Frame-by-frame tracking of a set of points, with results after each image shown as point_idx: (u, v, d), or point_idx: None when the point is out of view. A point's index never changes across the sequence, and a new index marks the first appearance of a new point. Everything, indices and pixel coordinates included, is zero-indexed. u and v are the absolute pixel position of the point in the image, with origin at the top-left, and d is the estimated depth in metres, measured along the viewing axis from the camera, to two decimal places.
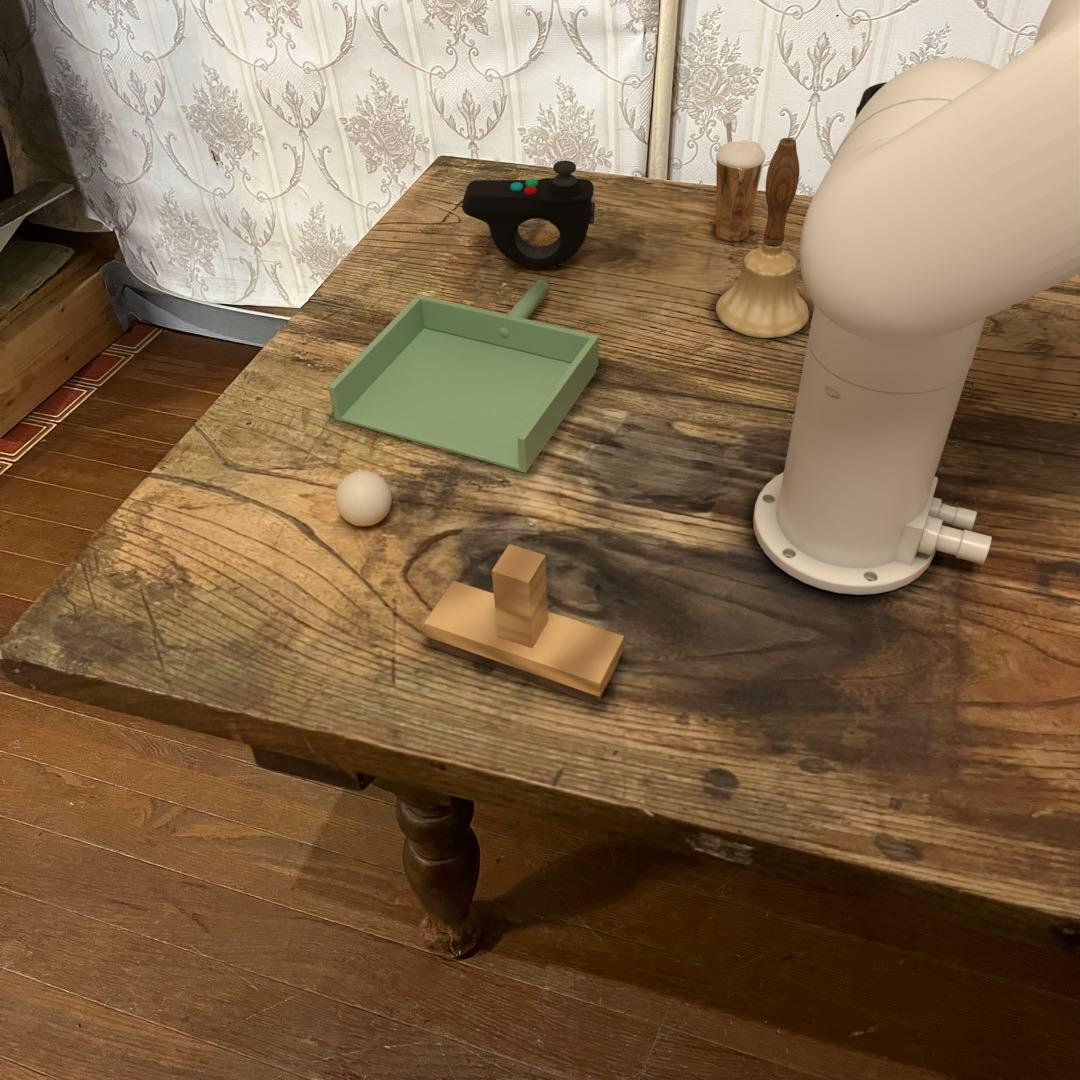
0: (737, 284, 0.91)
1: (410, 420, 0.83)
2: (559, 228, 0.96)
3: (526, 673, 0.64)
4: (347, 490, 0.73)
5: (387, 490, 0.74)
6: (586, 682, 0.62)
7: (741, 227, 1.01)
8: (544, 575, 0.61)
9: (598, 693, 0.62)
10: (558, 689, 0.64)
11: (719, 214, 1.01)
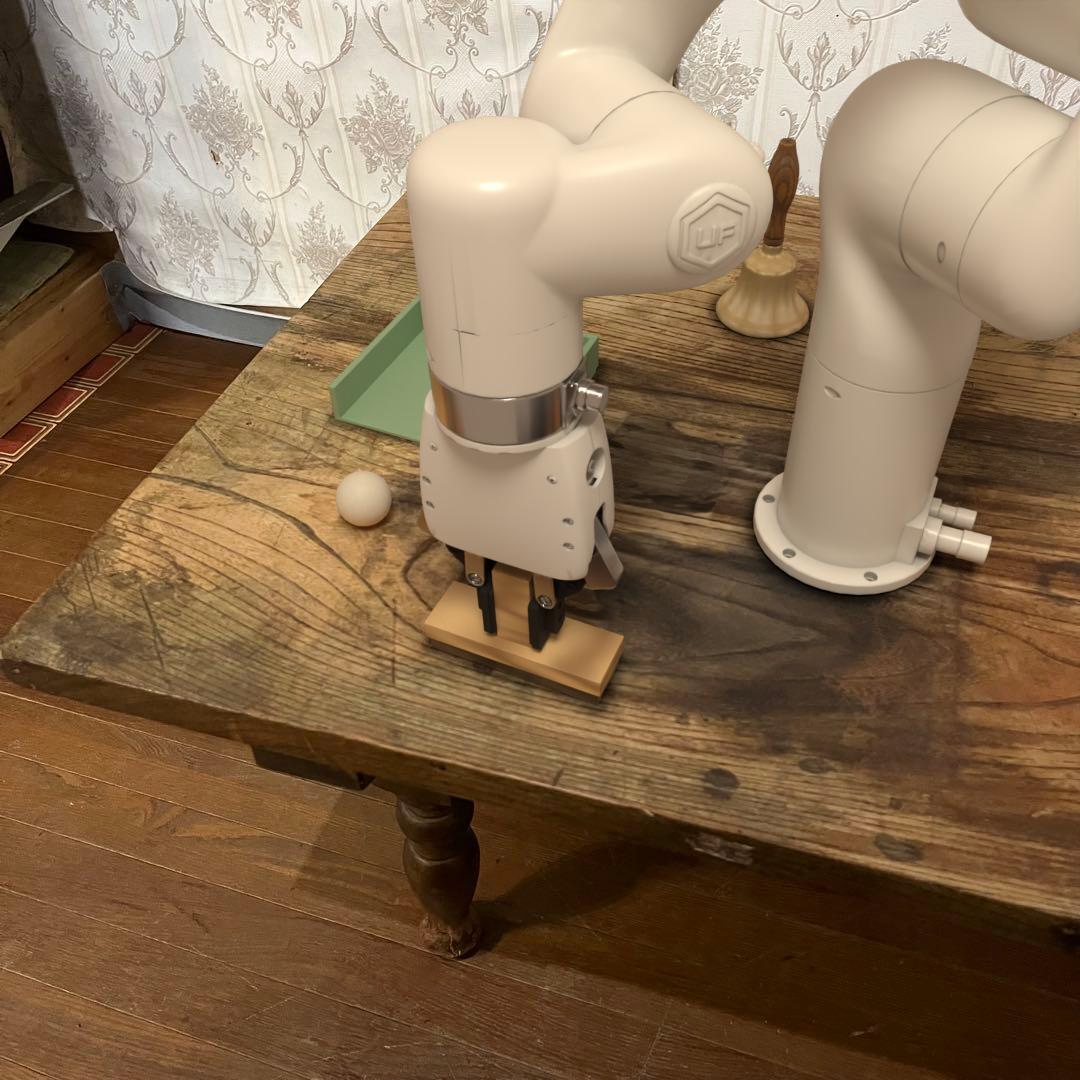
0: (737, 284, 0.91)
1: (410, 420, 0.83)
2: None
3: (526, 673, 0.64)
4: (347, 490, 0.73)
5: (387, 490, 0.74)
6: (586, 682, 0.62)
7: None
8: None
9: (598, 693, 0.62)
10: (558, 689, 0.64)
11: None
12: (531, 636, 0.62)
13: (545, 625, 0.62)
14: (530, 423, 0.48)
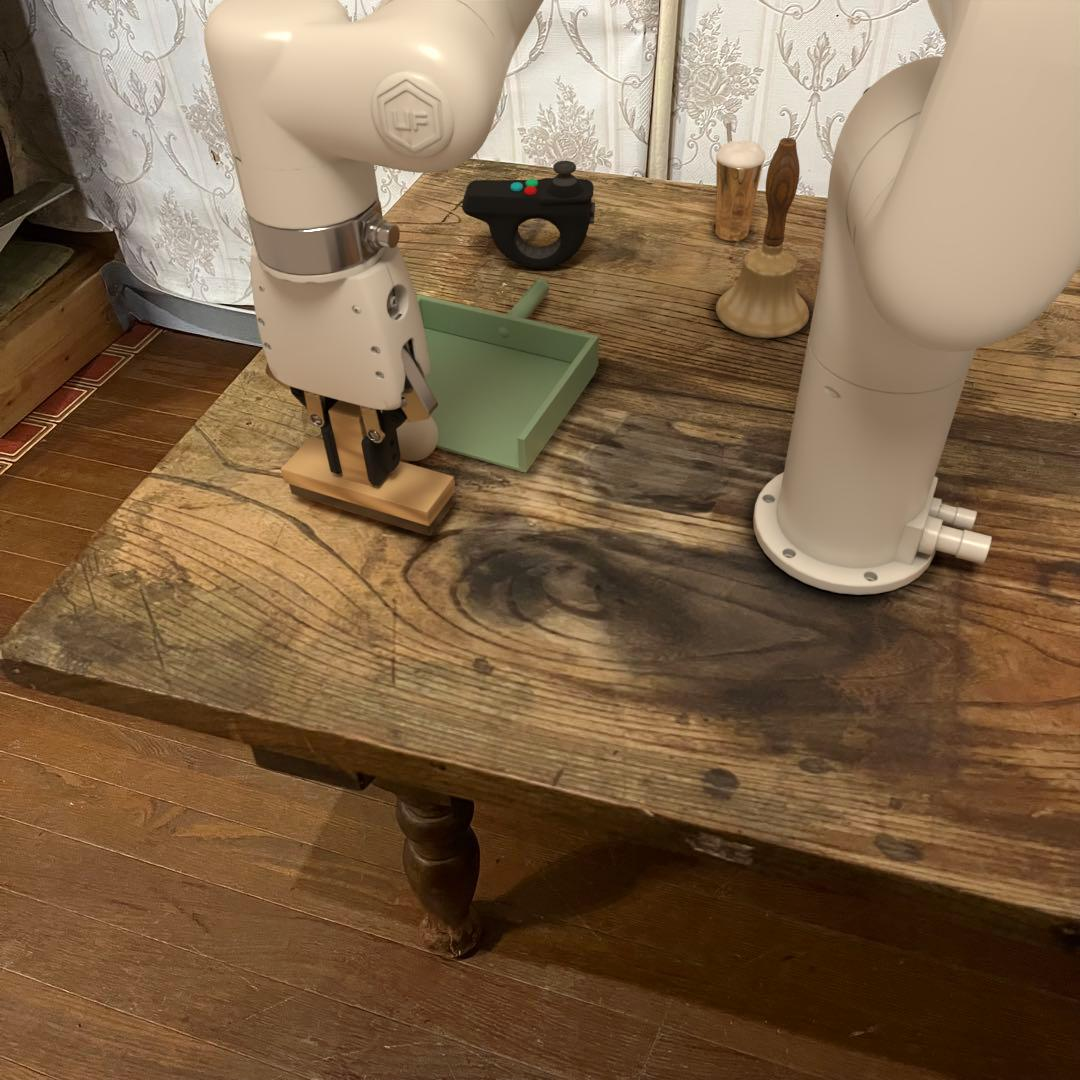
0: (737, 284, 0.91)
1: None
2: (559, 228, 0.96)
3: (369, 510, 0.73)
4: None
5: (426, 452, 0.78)
6: (416, 512, 0.71)
7: (741, 227, 1.01)
8: None
9: (427, 522, 0.71)
10: (396, 523, 0.73)
11: (719, 214, 1.01)
12: (368, 472, 0.71)
13: (380, 462, 0.71)
14: (328, 254, 0.57)
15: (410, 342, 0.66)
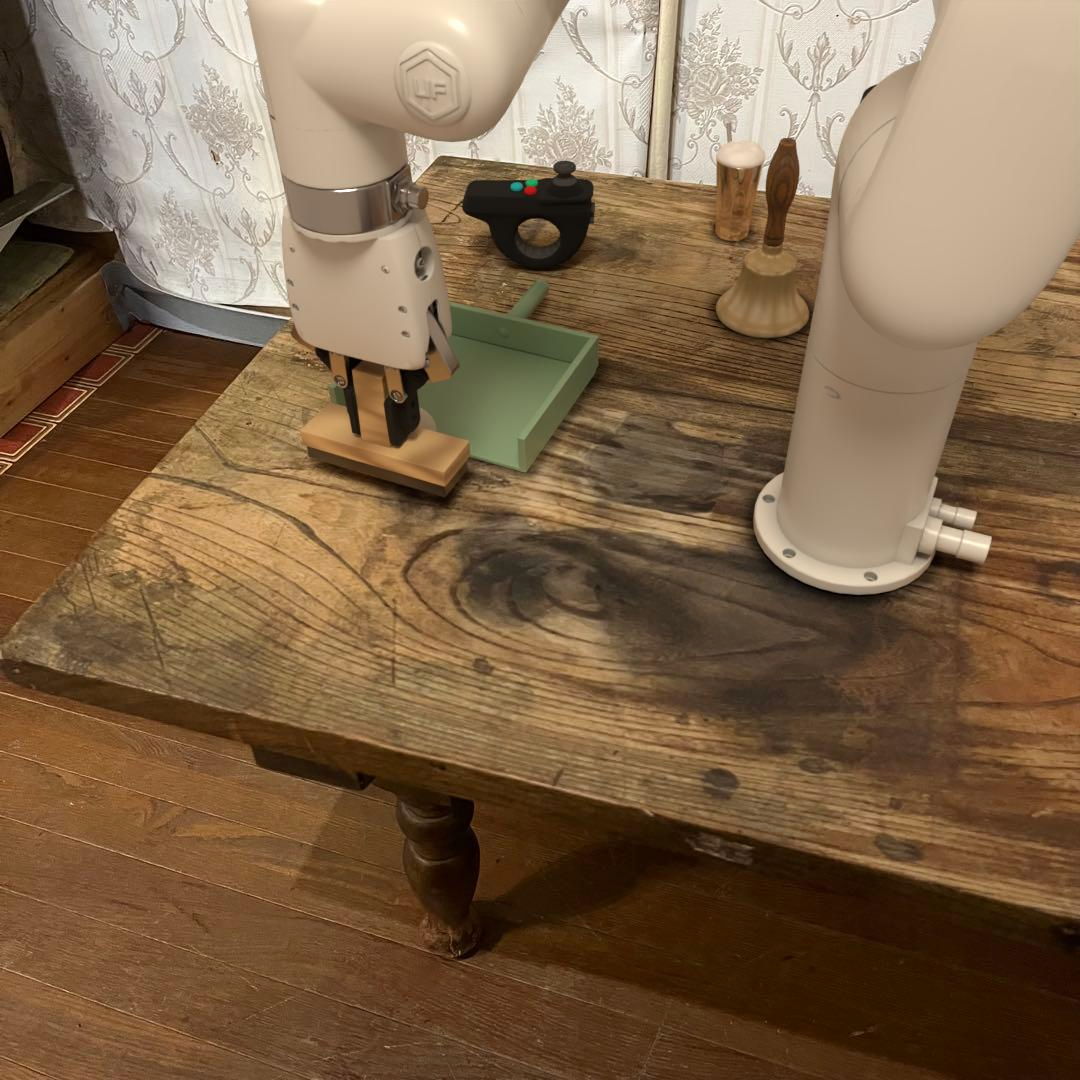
0: (737, 284, 0.91)
1: None
2: (559, 228, 0.96)
3: (386, 472, 0.75)
4: None
5: None
6: (433, 472, 0.73)
7: (741, 227, 1.01)
8: None
9: (443, 483, 0.73)
10: (412, 485, 0.75)
11: (719, 214, 1.01)
12: (389, 432, 0.73)
13: (401, 423, 0.73)
14: (361, 214, 0.60)
15: (433, 304, 0.68)
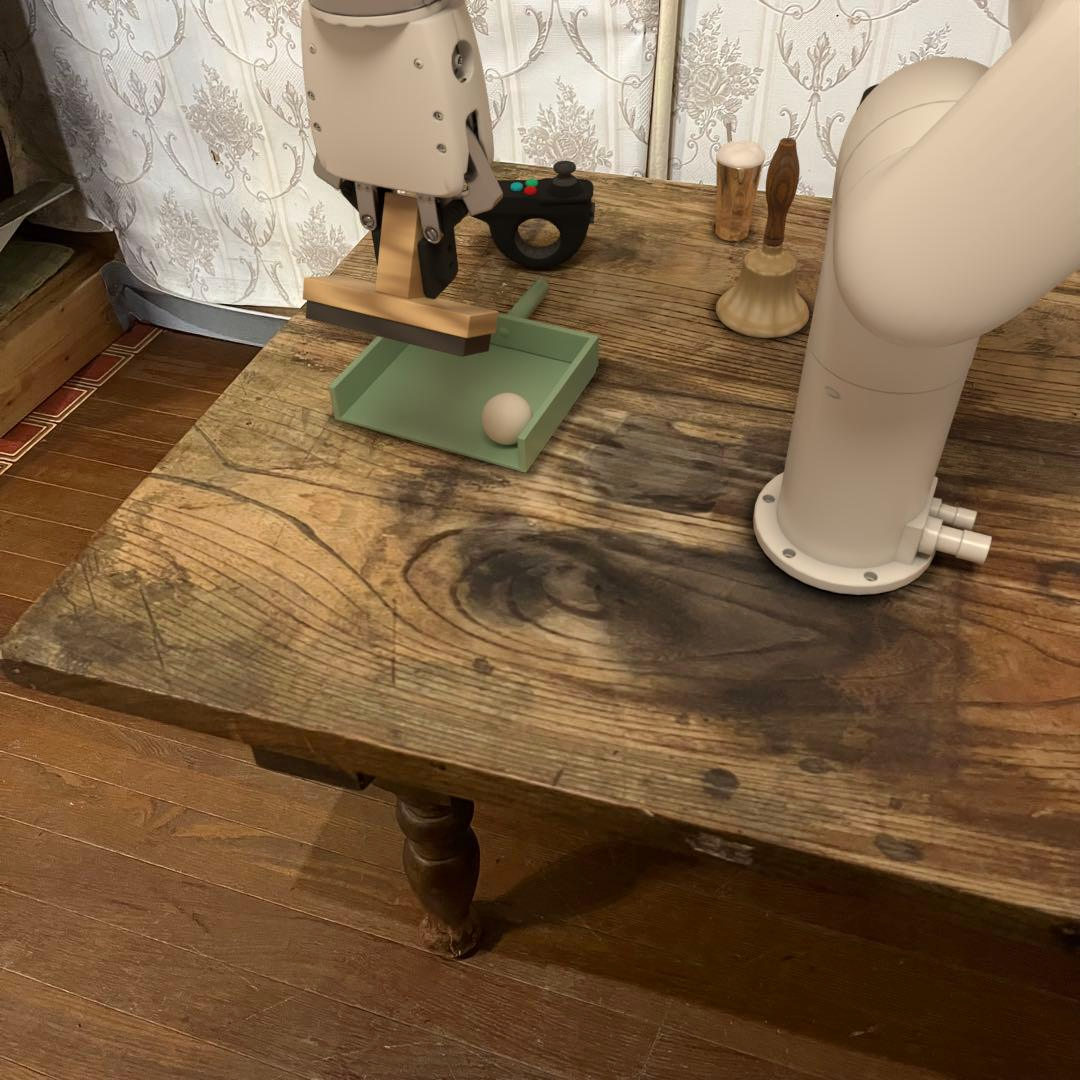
0: (737, 284, 0.91)
1: (410, 420, 0.83)
2: (559, 228, 0.96)
3: (396, 328, 0.64)
4: (520, 399, 0.79)
5: (494, 423, 0.78)
6: (456, 318, 0.62)
7: (741, 227, 1.01)
8: None
9: (466, 332, 0.62)
10: (426, 343, 0.64)
11: (719, 214, 1.01)
12: (423, 282, 0.65)
13: (437, 271, 0.65)
14: None
15: (473, 123, 0.60)
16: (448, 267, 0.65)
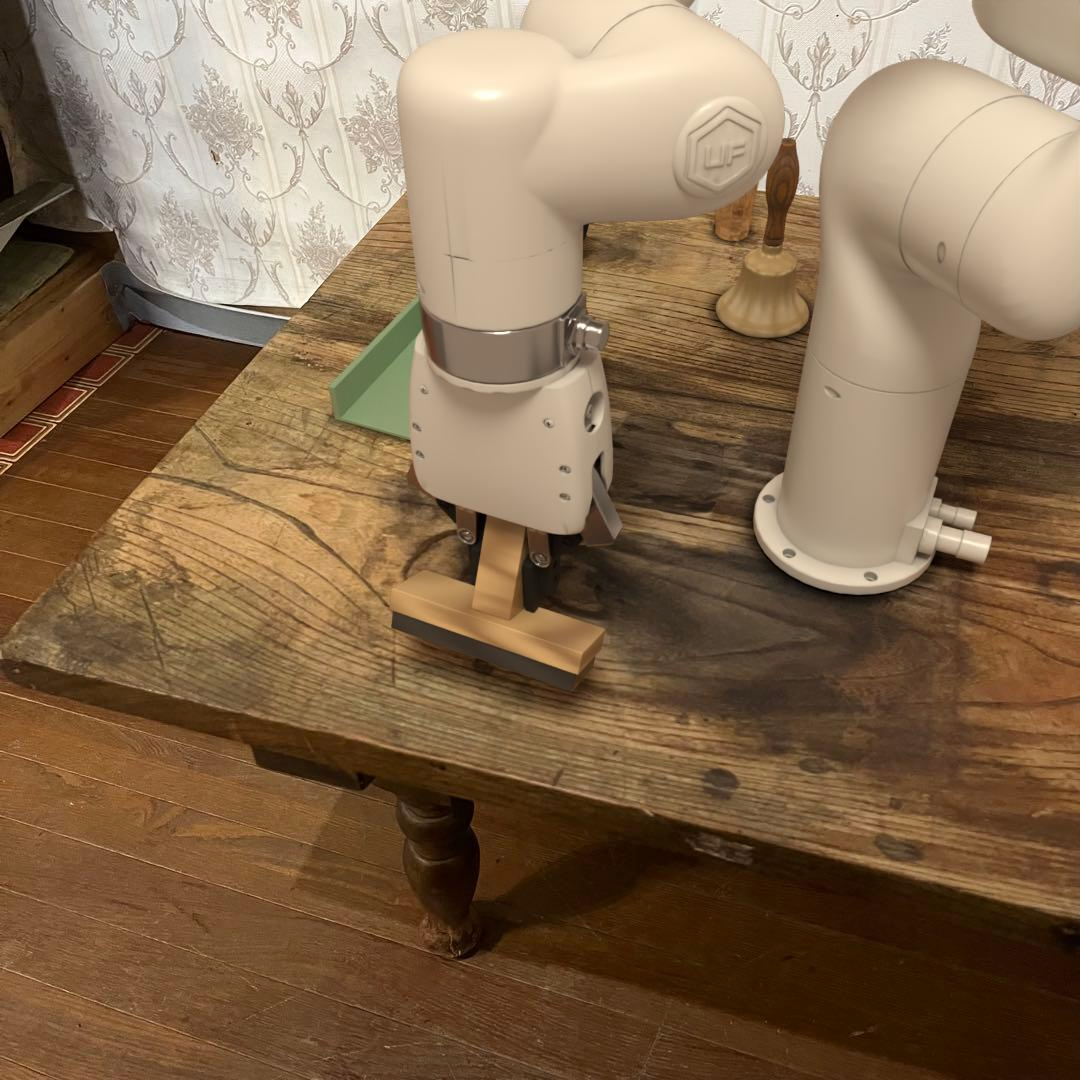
0: (737, 284, 0.91)
1: None
2: None
3: (496, 652, 0.58)
4: None
5: None
6: (566, 654, 0.56)
7: (741, 227, 1.01)
8: None
9: (577, 669, 0.56)
10: (529, 672, 0.58)
11: (719, 214, 1.01)
12: (525, 597, 0.59)
13: (539, 586, 0.59)
14: (526, 360, 0.46)
15: None
16: (552, 582, 0.59)
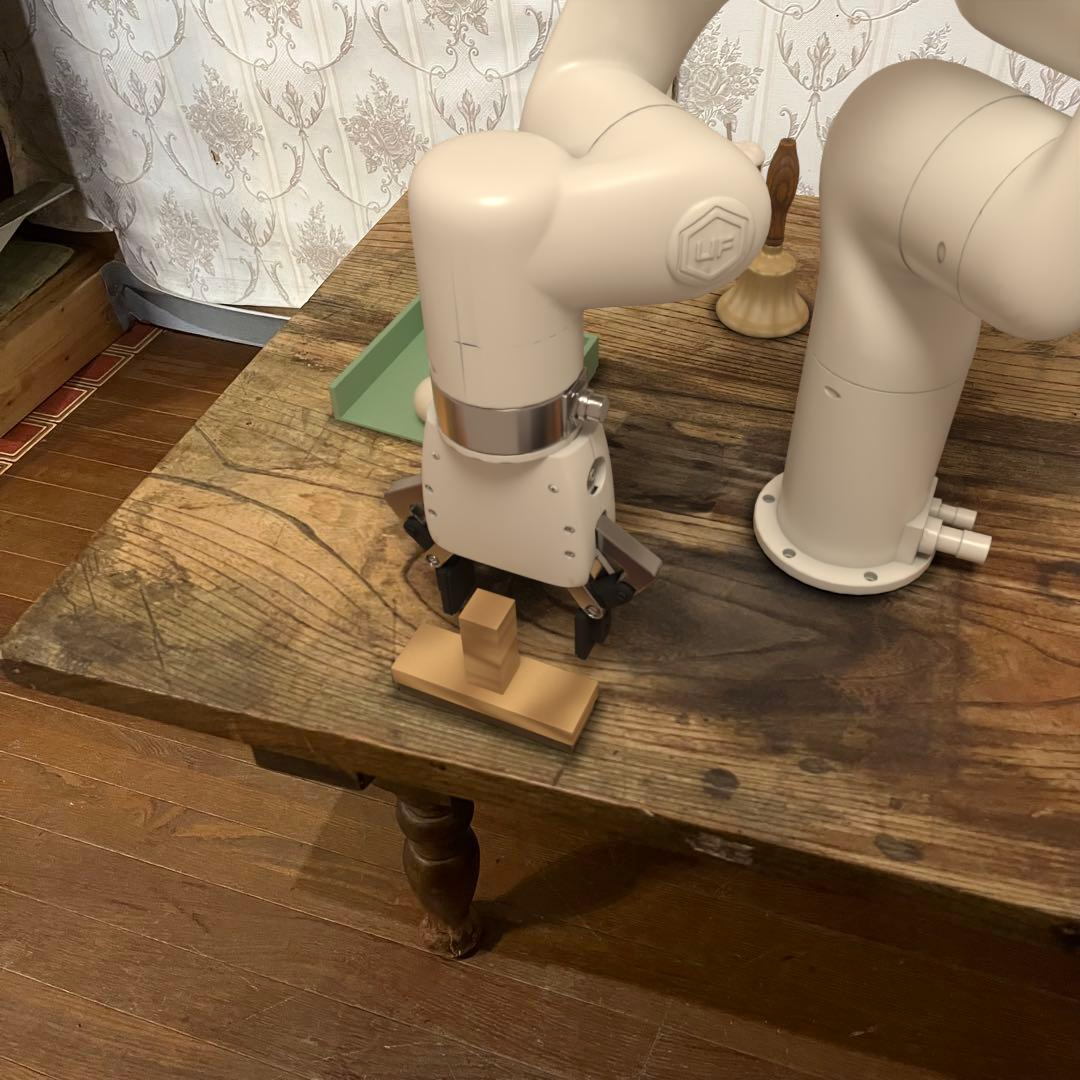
0: (737, 284, 0.91)
1: (410, 420, 0.83)
2: None
3: (497, 720, 0.62)
4: None
5: None
6: (558, 731, 0.59)
7: None
8: (514, 620, 0.59)
9: (571, 742, 0.60)
10: (530, 737, 0.62)
11: None
12: (577, 646, 0.61)
13: (591, 635, 0.61)
14: (531, 433, 0.49)
15: None
16: (603, 631, 0.61)
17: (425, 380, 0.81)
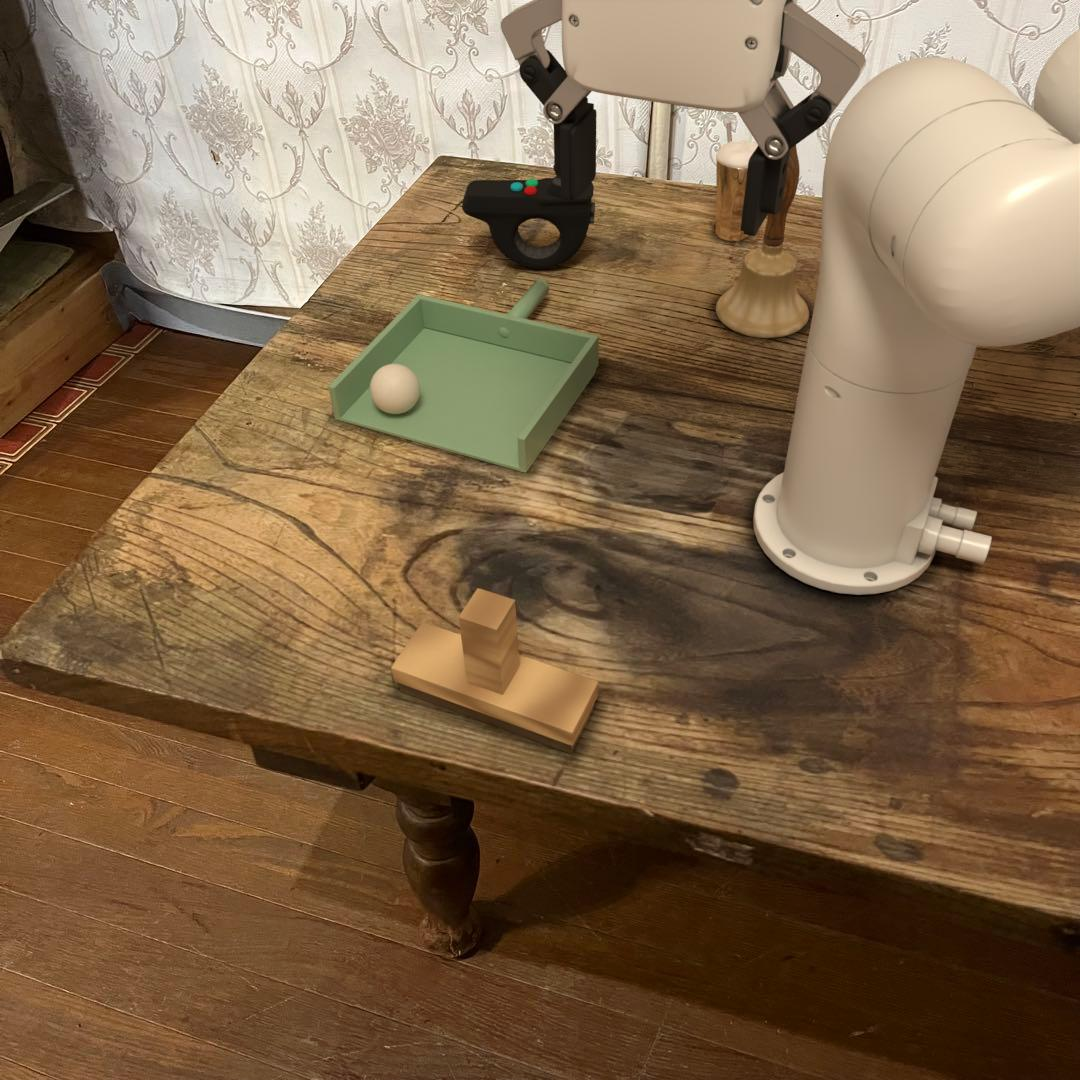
0: (737, 284, 0.91)
1: (410, 420, 0.83)
2: (559, 228, 0.96)
3: (497, 720, 0.62)
4: (419, 393, 0.83)
5: (390, 399, 0.81)
6: (558, 731, 0.59)
7: None
8: (514, 620, 0.59)
9: (571, 742, 0.60)
10: (530, 737, 0.62)
11: (719, 214, 1.01)
12: (746, 213, 0.50)
13: (763, 199, 0.50)
14: None
15: None
16: (778, 194, 0.50)
17: None
